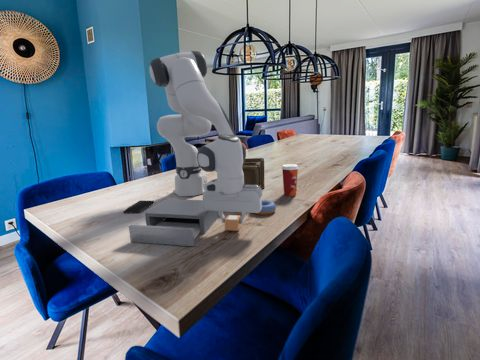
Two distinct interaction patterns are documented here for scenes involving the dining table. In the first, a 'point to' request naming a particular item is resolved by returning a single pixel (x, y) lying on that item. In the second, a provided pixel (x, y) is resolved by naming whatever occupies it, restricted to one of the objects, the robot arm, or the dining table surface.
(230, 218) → the block
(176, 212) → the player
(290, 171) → the paper cup
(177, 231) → the tray
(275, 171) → the dining table surface
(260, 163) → the ornamental box
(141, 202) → the phone
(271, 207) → the doughnut
